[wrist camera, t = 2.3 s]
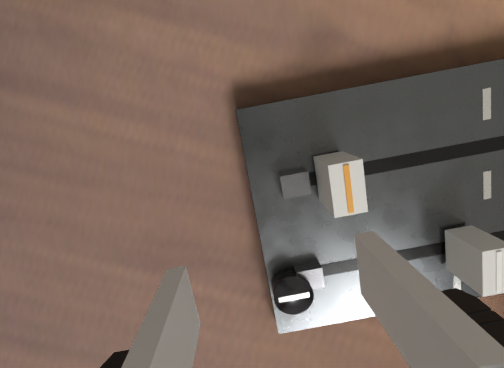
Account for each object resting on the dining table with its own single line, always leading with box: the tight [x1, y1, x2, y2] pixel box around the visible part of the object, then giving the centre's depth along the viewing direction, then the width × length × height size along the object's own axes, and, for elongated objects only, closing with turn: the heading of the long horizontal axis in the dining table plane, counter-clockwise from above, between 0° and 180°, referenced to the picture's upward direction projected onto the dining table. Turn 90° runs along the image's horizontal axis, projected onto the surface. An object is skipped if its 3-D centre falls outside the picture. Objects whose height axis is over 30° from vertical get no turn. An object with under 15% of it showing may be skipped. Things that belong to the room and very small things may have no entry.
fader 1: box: [313, 151, 368, 218], centre depth 24 cm, size 4×2×5 cm, turn 11°
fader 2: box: [445, 225, 504, 297], centre depth 26 cm, size 4×2×5 cm, turn 10°
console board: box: [236, 59, 504, 334], centre depth 28 cm, size 22×30×4 cm
